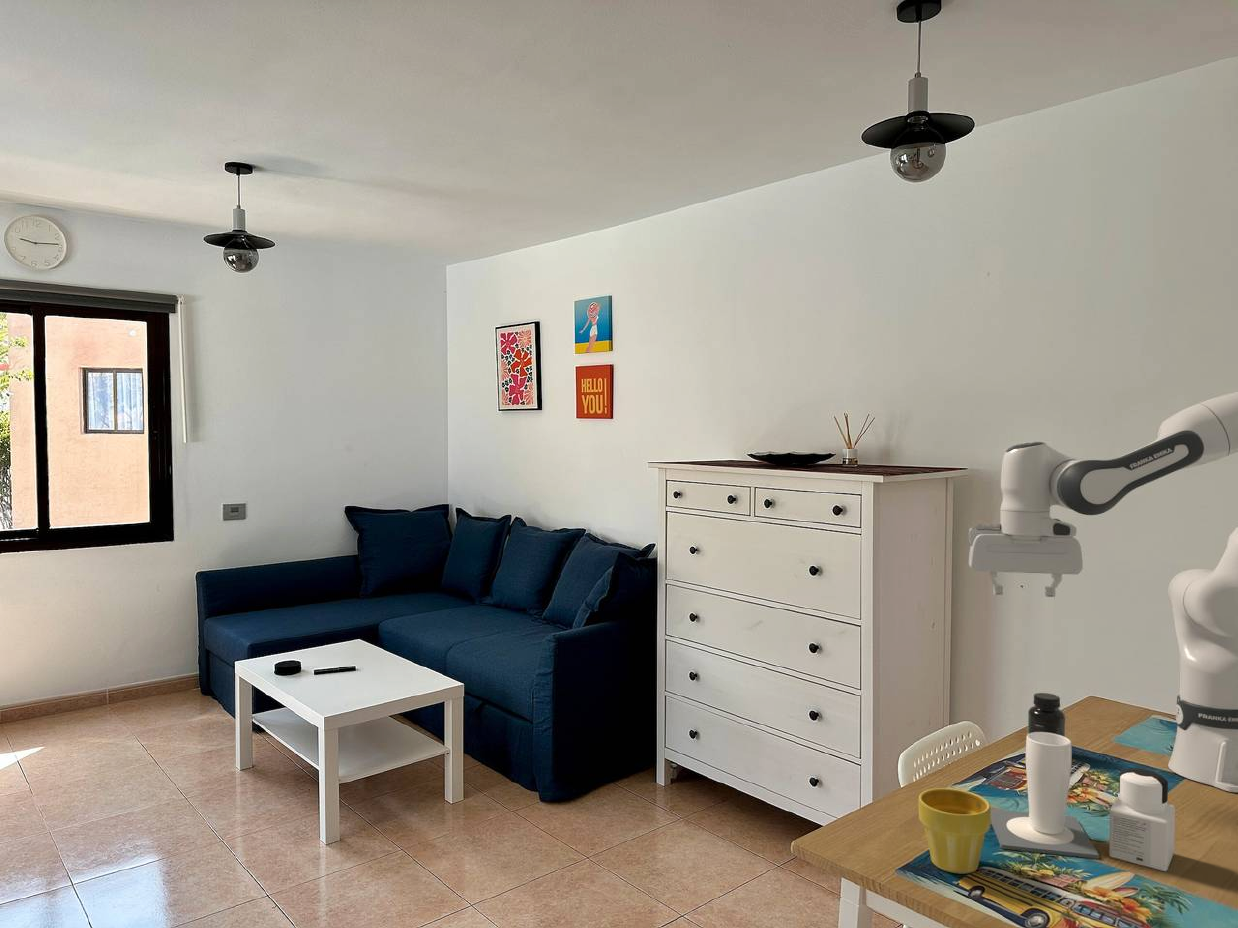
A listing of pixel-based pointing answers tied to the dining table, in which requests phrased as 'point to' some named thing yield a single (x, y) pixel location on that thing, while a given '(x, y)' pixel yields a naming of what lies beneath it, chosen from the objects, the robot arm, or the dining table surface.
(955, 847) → the plant pot
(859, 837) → the dining table surface
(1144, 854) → the container
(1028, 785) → the drinking glass
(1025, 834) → the mat
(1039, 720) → the supplement bottle
